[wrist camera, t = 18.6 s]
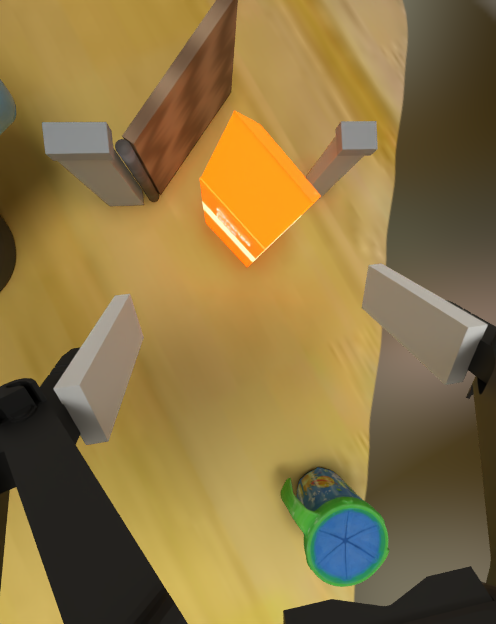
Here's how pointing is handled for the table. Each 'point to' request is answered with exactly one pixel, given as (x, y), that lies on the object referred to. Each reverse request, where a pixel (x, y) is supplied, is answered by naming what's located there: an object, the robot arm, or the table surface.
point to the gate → (182, 102)
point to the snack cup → (336, 528)
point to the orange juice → (252, 189)
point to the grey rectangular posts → (125, 190)
